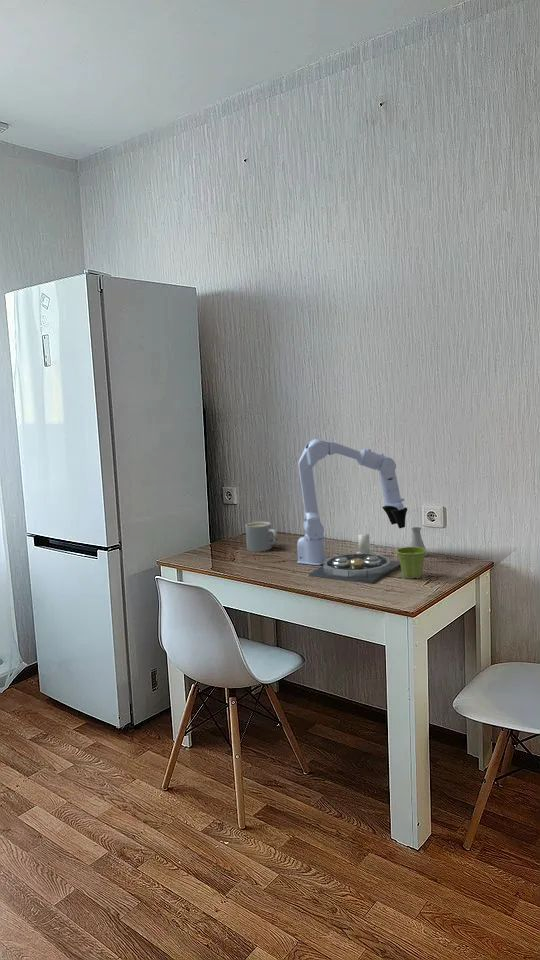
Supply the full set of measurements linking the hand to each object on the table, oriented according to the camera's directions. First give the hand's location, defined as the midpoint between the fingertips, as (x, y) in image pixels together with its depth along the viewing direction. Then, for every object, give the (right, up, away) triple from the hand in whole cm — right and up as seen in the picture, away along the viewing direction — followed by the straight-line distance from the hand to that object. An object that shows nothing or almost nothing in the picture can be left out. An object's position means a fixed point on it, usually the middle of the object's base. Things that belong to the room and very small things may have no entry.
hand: (398, 525), depth 247 cm
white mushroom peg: (-12, -11, +2) cm, 16 cm away
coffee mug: (-49, -11, +24) cm, 56 cm away
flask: (+7, -11, -1) cm, 13 cm away
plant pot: (0, -15, -27) cm, 31 cm away
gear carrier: (-17, -14, -15) cm, 27 cm away
